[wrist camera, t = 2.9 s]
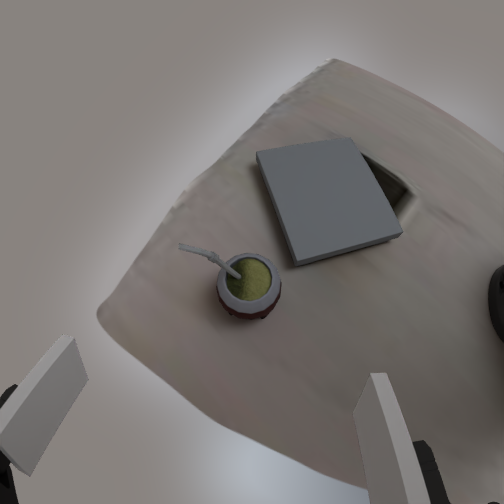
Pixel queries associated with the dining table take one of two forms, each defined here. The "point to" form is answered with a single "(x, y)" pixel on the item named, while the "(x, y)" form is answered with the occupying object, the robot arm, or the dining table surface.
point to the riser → (326, 199)
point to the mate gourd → (244, 283)
